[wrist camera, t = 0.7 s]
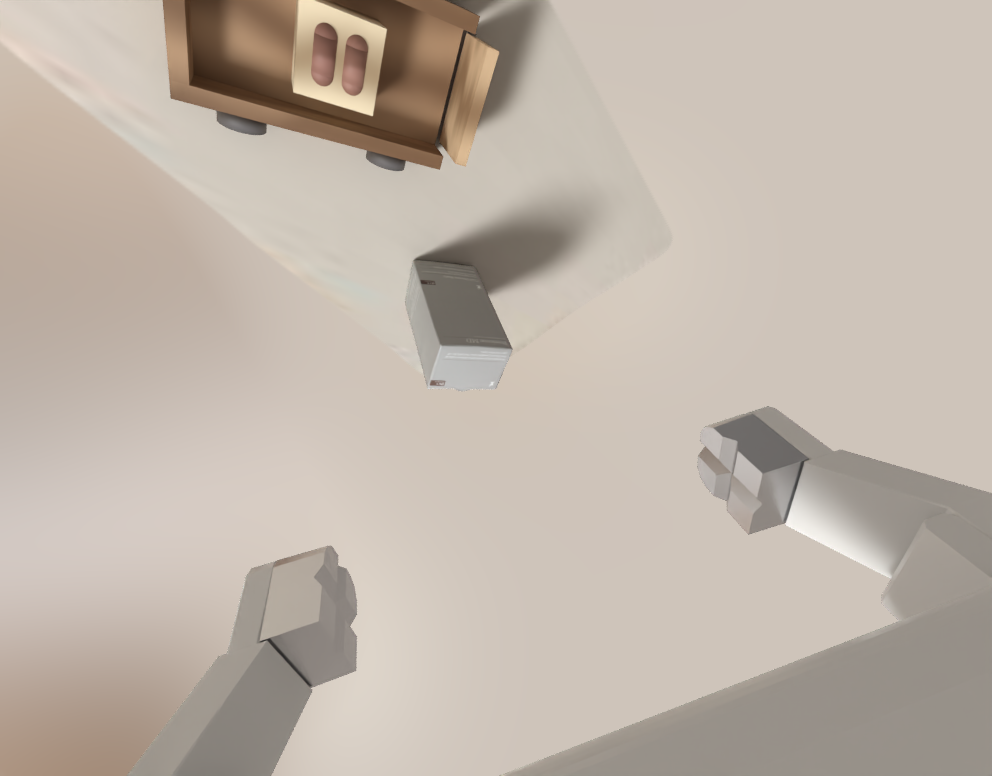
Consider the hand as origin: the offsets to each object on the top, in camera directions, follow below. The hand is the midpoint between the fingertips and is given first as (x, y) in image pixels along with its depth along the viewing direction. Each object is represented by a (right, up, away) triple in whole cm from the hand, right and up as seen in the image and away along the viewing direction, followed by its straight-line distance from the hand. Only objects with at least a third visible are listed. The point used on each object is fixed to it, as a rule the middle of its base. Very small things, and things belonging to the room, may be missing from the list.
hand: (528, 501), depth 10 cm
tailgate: (-4, +30, +33) cm, 45 cm away
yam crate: (-14, +30, +27) cm, 43 cm away
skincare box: (-8, +15, +48) cm, 51 cm away
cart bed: (-15, +31, +28) cm, 44 cm away
